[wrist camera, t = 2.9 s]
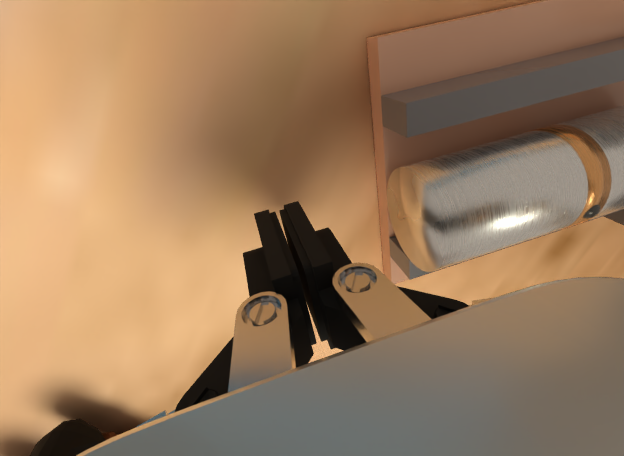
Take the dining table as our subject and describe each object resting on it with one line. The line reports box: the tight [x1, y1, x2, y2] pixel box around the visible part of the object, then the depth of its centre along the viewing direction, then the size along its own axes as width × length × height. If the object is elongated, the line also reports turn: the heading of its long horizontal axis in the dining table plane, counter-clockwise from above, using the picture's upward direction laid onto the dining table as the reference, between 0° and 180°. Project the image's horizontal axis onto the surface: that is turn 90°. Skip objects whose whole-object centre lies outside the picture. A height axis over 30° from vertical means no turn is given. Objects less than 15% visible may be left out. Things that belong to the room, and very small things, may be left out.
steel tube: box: [387, 105, 624, 272], centre depth 14 cm, size 13×4×5 cm, turn 100°
